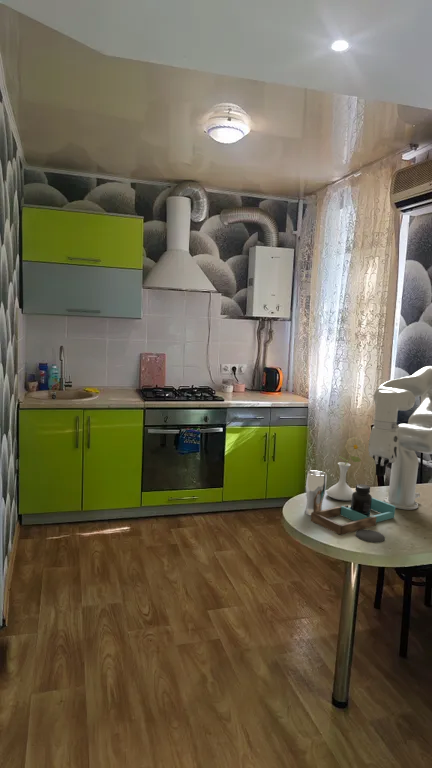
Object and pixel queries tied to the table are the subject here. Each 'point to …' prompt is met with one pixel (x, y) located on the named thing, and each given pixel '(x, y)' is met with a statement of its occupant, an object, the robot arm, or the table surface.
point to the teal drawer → (376, 505)
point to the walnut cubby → (340, 529)
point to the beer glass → (315, 491)
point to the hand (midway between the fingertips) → (380, 475)
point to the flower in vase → (341, 488)
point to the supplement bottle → (362, 500)
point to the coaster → (370, 536)
